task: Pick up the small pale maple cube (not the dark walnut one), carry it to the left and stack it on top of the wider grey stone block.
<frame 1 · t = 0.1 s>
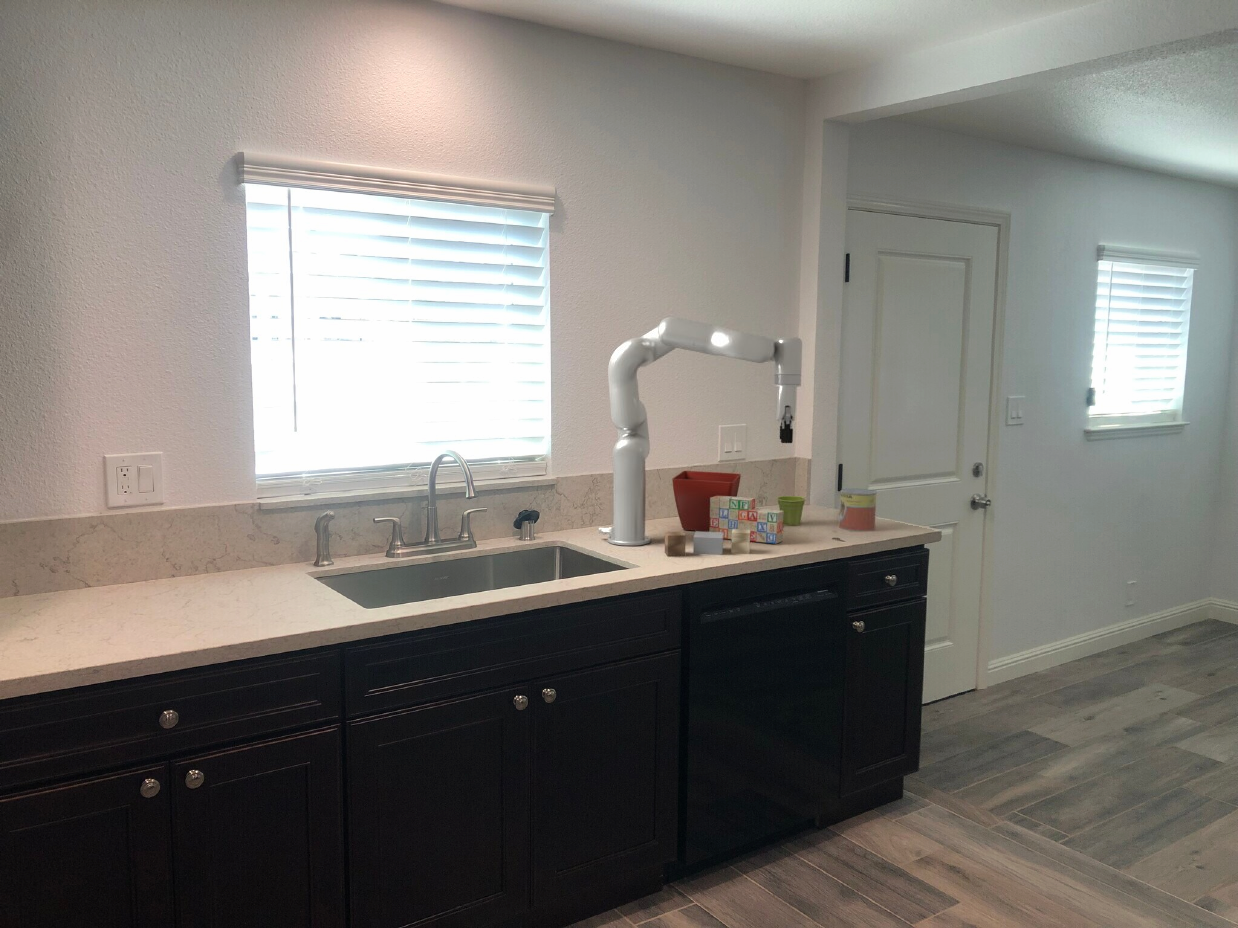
hand: (785, 441, 267), 31 cm above the table, tool pointing down, fingers open, 9 cm apart
plant pot 2: (790, 525, 307), on the table
canned food: (856, 528, 302), on the table
stone block: (708, 551, 267), on the table
plant pot: (705, 528, 300), on the table, touching stack of blocks
maple cube: (740, 551, 266), on the table
stack of blocks: (745, 539, 283), on the table, touching plant pot
walnut cube: (674, 554, 262), on the table
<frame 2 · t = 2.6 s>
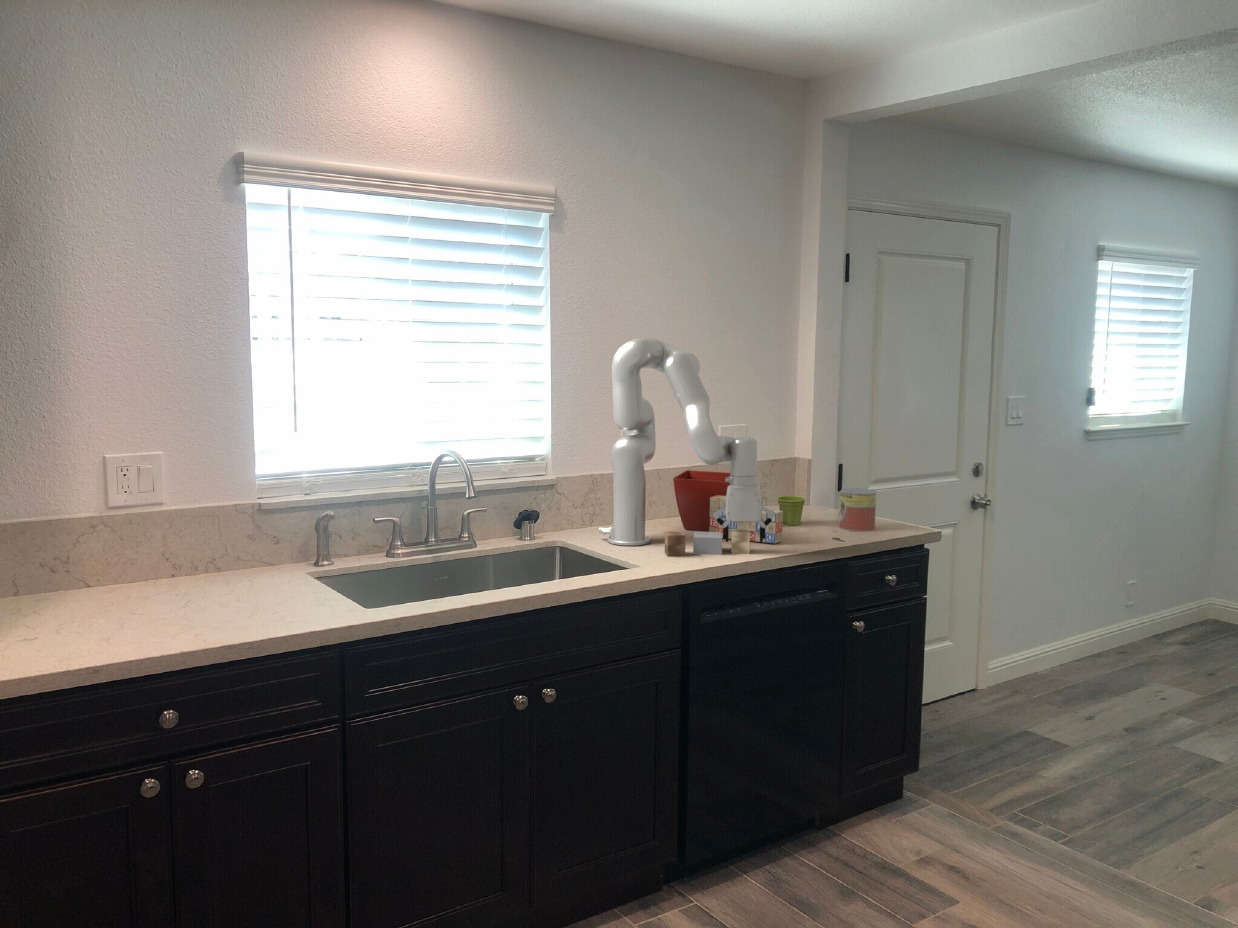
hand: (744, 541, 266), 3 cm above the table, tool pointing down, fingers open, 9 cm apart
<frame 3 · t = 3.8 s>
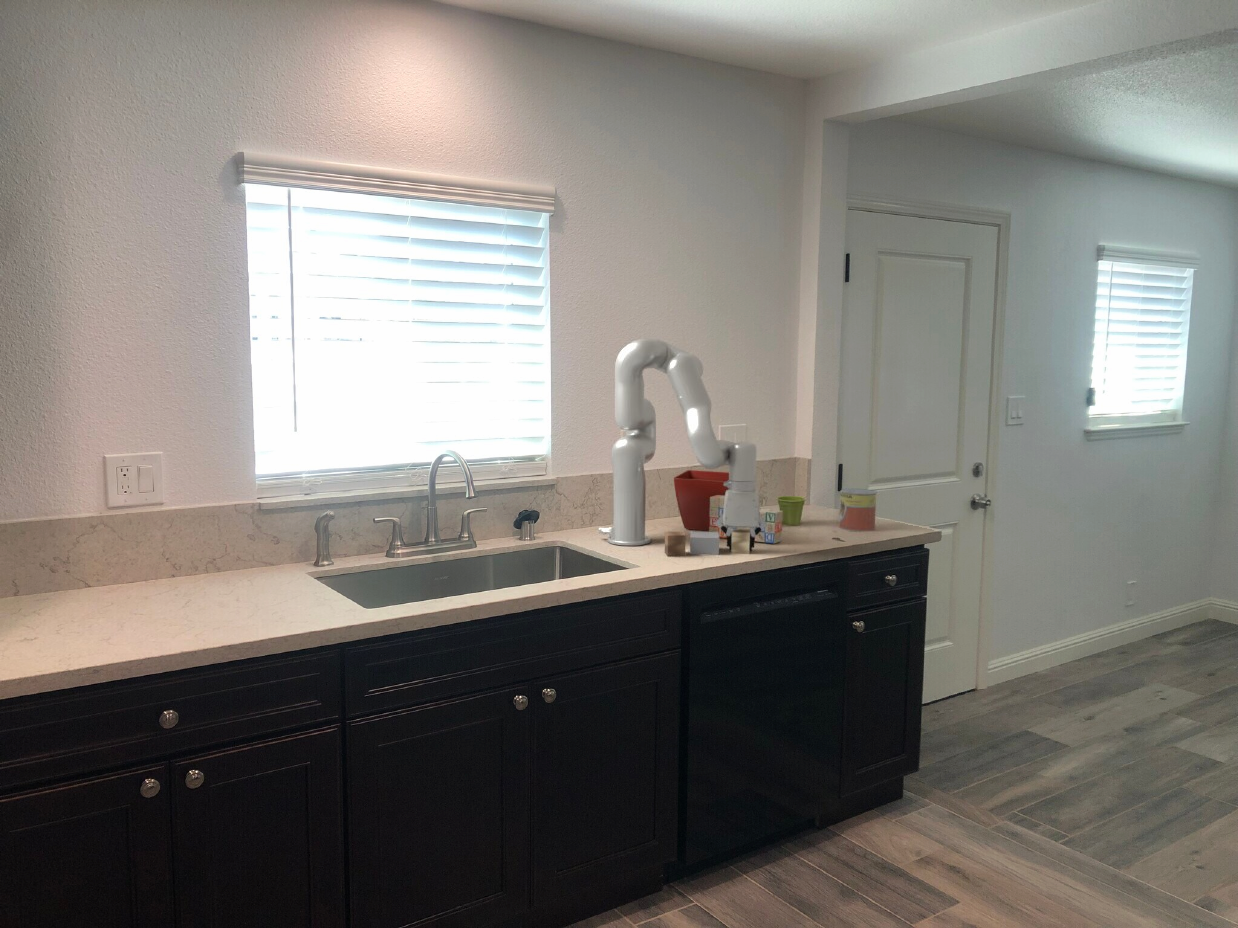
hand: (740, 548, 266), 1 cm above the table, tool pointing down, fingers closed on maple cube, 5 cm apart
maple cube: (740, 551, 266), on the table, touching gripper
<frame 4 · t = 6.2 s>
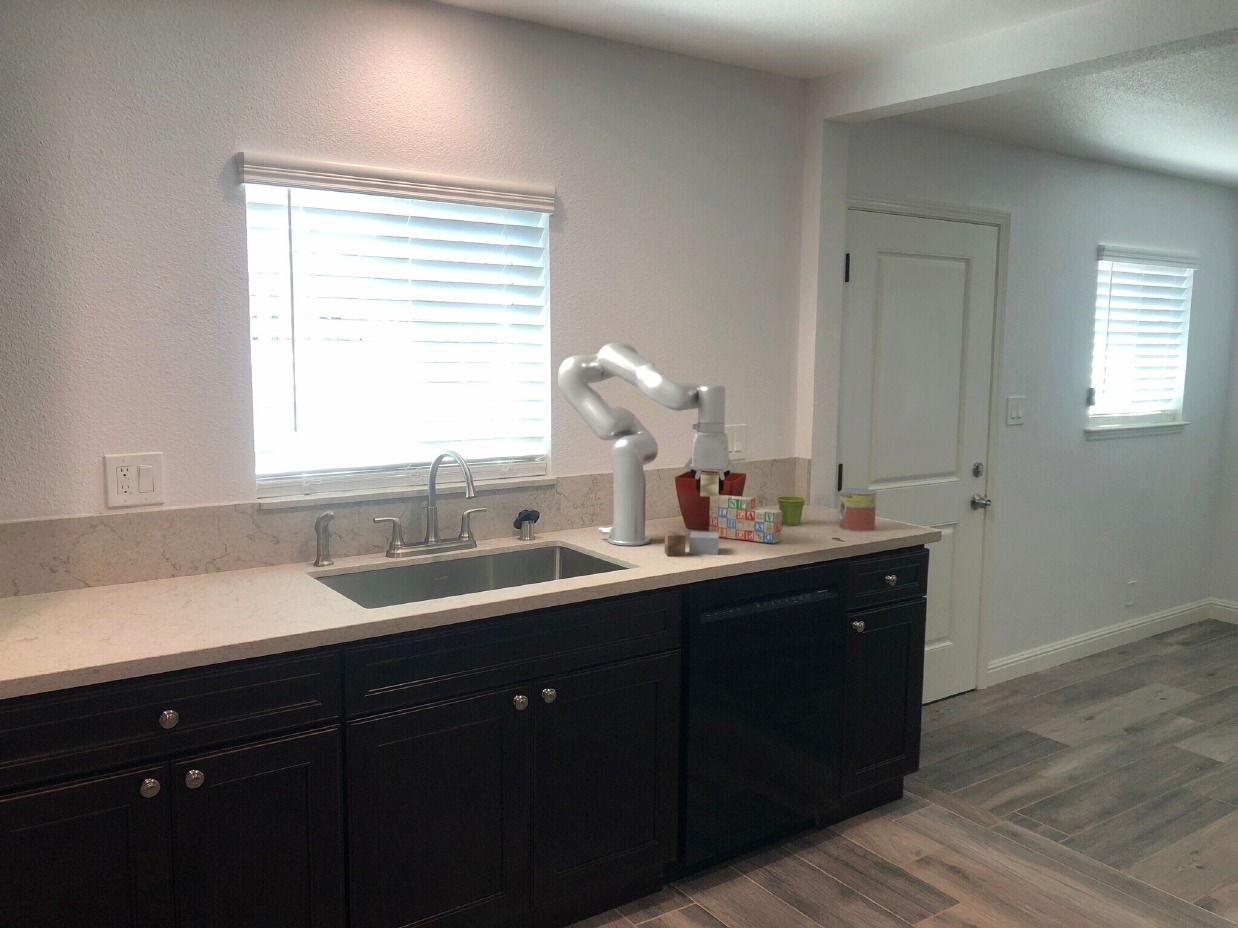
hand: (709, 492, 265), 17 cm above the table, tool pointing down, fingers closed on maple cube, 5 cm apart
maple cube: (709, 495, 265), point 16 cm above the table, touching gripper
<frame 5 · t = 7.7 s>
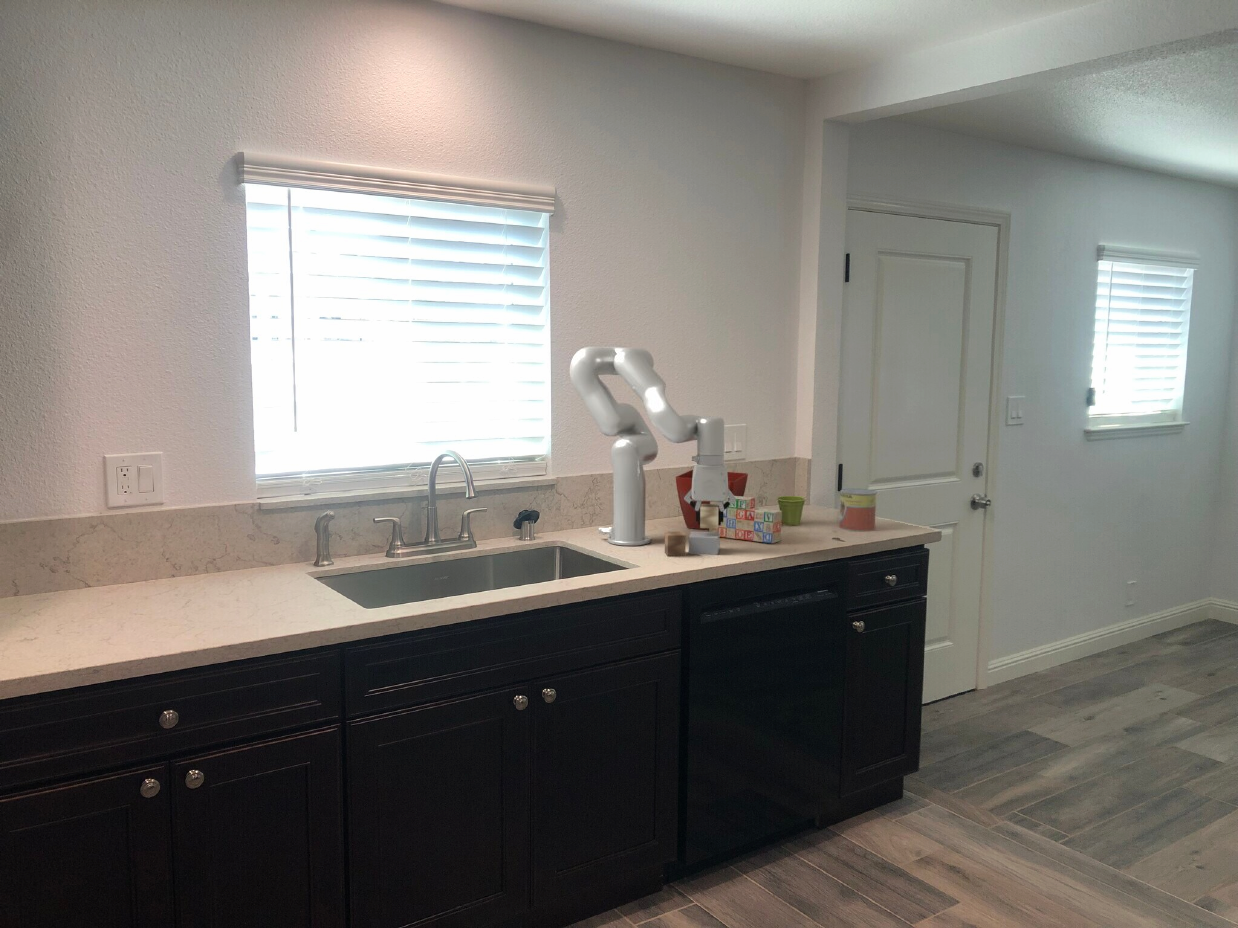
hand: (709, 523, 266), 8 cm above the table, tool pointing down, fingers closed on maple cube, 5 cm apart
maple cube: (709, 526, 266), point 7 cm above the table, touching gripper
when the fingers open (7 cm above the table, at t = 8.7 s): maple cube drops 2 cm, resting on stone block.
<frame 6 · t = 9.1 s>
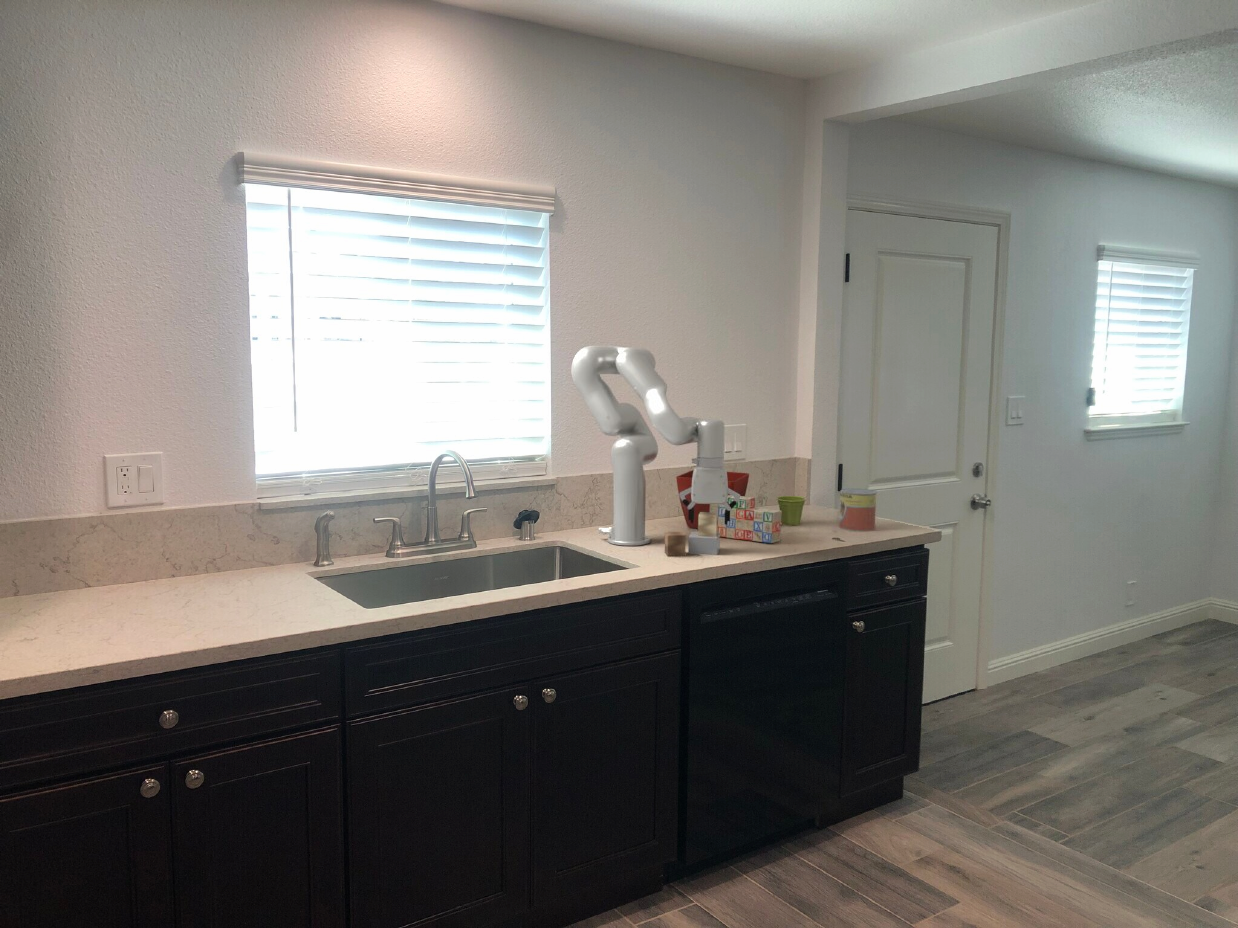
hand: (709, 523, 266), 8 cm above the table, tool pointing down, fingers open, 9 cm apart
stone block: (704, 552, 267), on the table, touching maple cube
maple cube: (707, 534, 266), point 5 cm above the table, touching stone block
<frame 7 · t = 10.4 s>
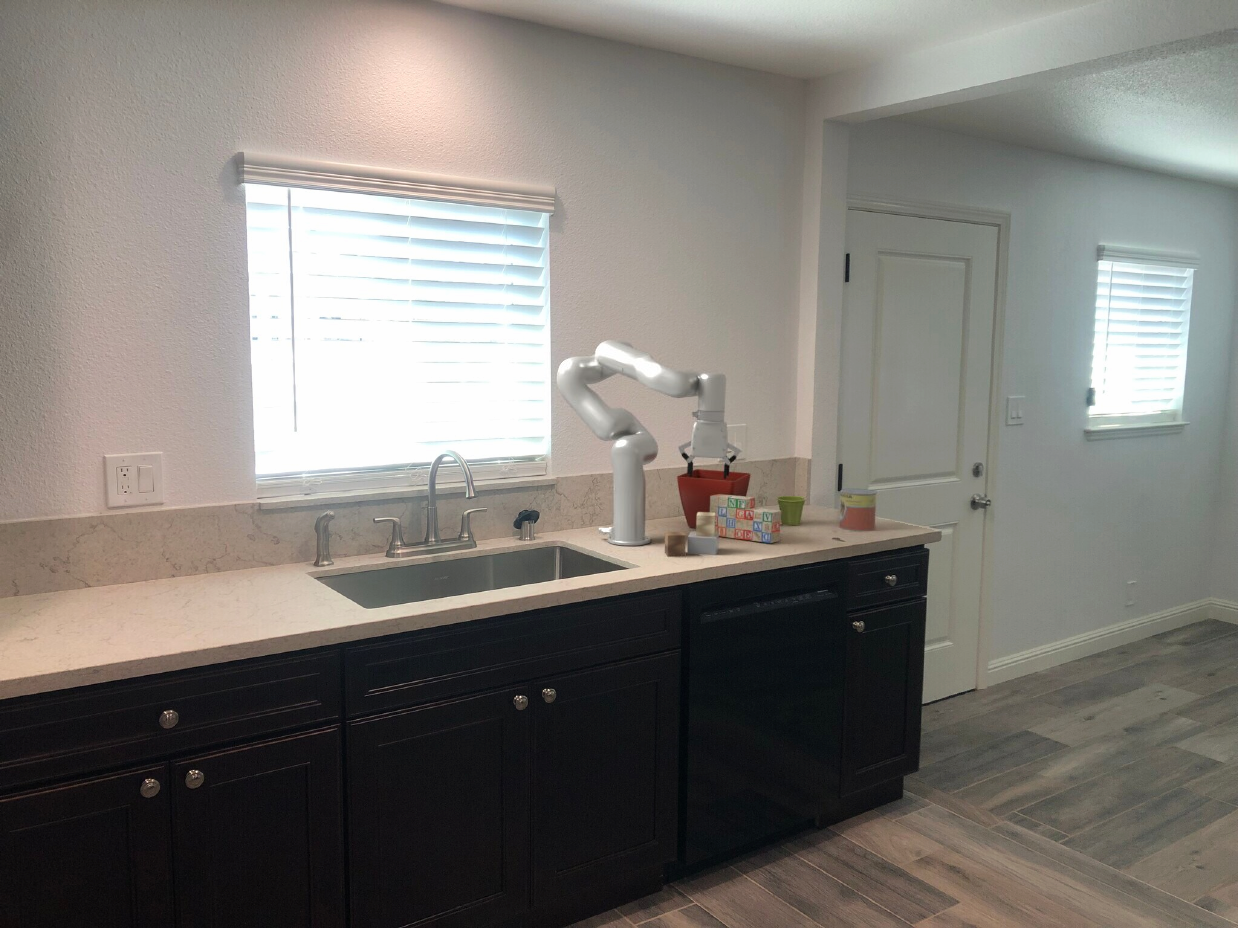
hand: (707, 477, 264), 21 cm above the table, tool pointing down, fingers open, 9 cm apart
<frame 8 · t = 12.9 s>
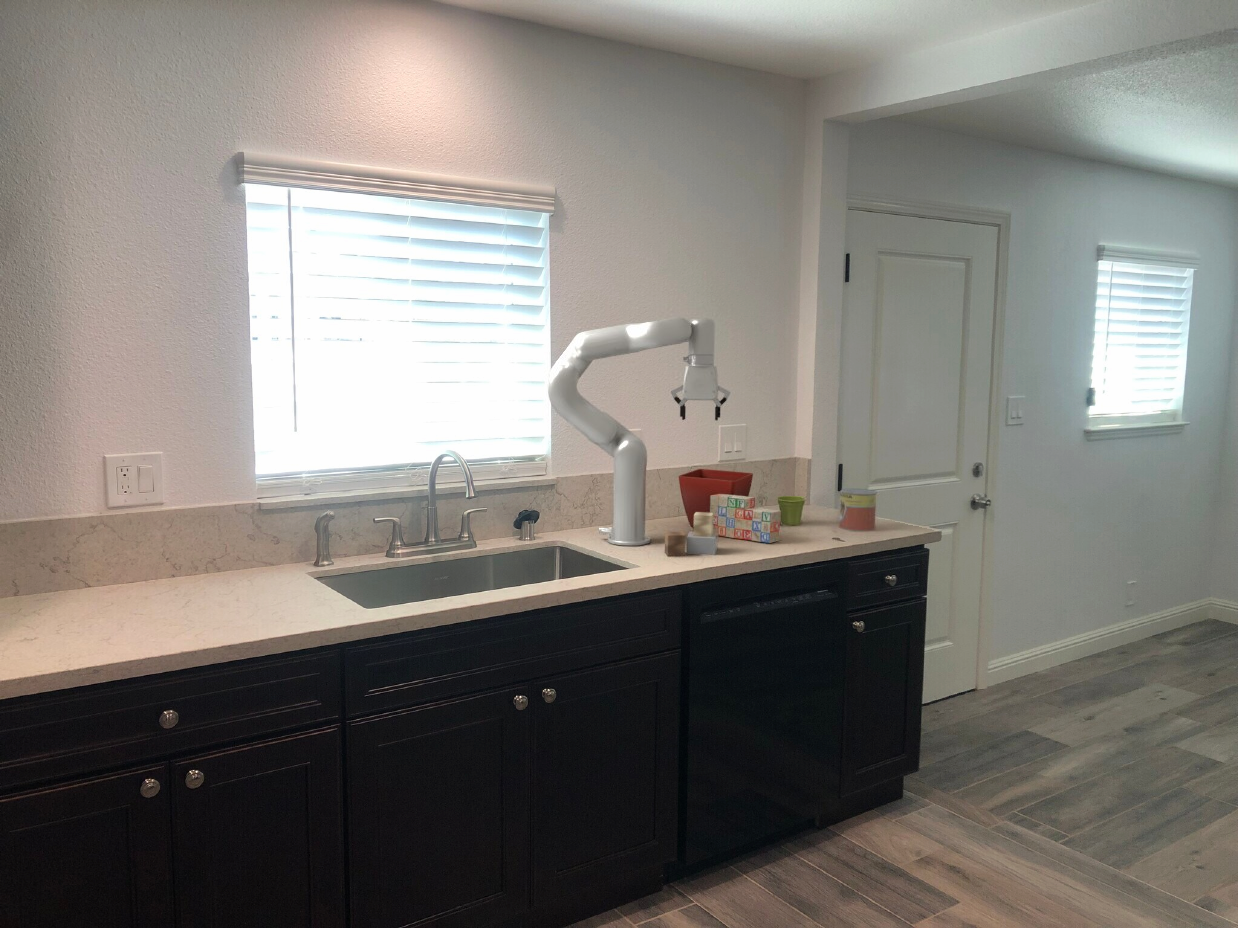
hand: (700, 419, 275), 36 cm above the table, tool pointing down, fingers open, 9 cm apart
at the end: maple cube 0.4 cm off-centre on the stone block, point 5.0 cm above the stone block's base; maple cube tilted 0°; the gripper is holding nothing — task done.
